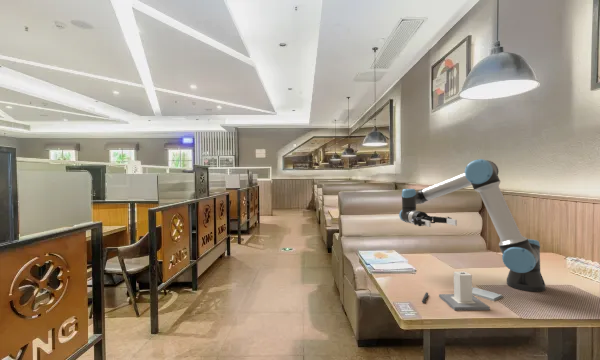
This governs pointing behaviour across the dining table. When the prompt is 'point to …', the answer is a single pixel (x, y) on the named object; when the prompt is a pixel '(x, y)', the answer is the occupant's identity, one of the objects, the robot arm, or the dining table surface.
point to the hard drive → (485, 294)
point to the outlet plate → (463, 303)
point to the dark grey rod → (425, 297)
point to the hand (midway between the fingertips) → (443, 223)
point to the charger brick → (463, 286)
